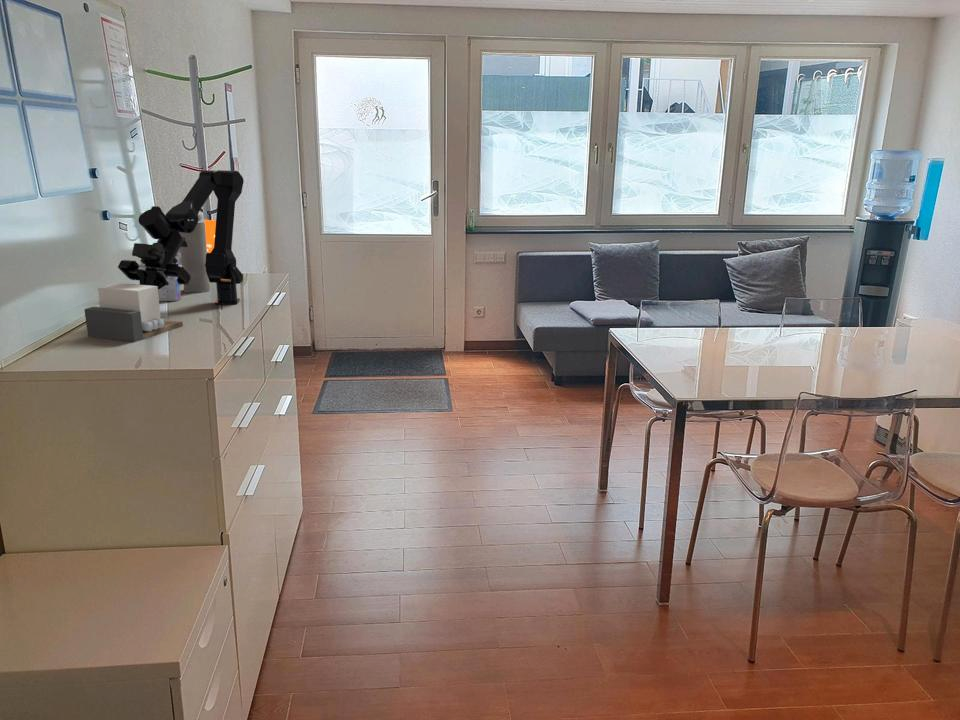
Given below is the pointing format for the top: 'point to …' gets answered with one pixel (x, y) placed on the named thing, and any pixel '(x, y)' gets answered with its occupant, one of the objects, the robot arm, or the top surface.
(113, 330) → the block
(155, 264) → the robot arm
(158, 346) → the top surface
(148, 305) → the white rectangular box
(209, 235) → the orange juice
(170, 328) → the brown wooden plank
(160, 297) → the ink cartridge box
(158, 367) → the top surface
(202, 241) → the thermos bottle
